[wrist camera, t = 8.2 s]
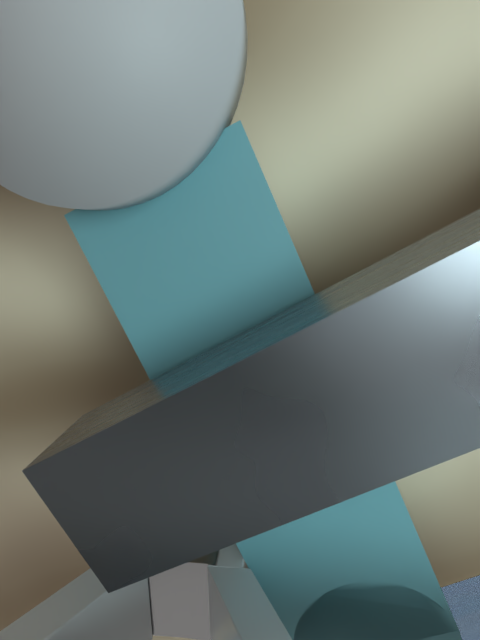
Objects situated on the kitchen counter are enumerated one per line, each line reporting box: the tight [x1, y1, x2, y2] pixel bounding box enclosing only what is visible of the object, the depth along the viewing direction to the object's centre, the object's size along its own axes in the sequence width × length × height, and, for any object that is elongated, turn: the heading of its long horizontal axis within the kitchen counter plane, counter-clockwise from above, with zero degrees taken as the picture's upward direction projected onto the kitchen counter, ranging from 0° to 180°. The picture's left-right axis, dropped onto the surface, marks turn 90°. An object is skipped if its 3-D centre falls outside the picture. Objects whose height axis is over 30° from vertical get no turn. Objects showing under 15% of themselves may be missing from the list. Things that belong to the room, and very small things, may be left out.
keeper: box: [22, 209, 480, 593], centre depth 6 cm, size 2×12×5 cm, turn 119°
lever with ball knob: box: [0, 0, 462, 640], centre depth 7 cm, size 15×4×3 cm, turn 25°
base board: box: [0, 0, 480, 640], centre depth 9 cm, size 18×24×4 cm
